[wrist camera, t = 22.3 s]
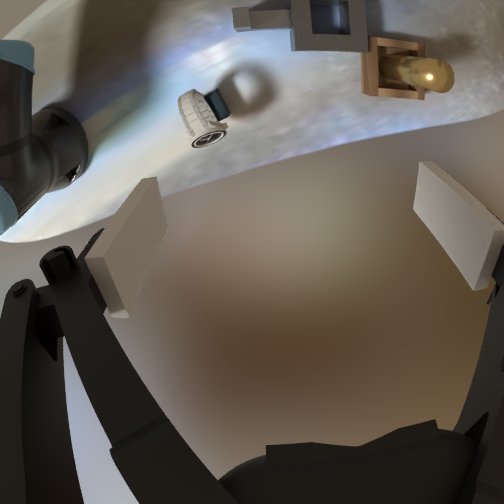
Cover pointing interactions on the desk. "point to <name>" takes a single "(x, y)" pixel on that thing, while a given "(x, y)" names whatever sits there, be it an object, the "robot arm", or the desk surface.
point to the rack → (376, 81)
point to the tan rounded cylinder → (418, 72)
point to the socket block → (348, 41)
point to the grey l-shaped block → (260, 19)
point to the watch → (203, 117)
